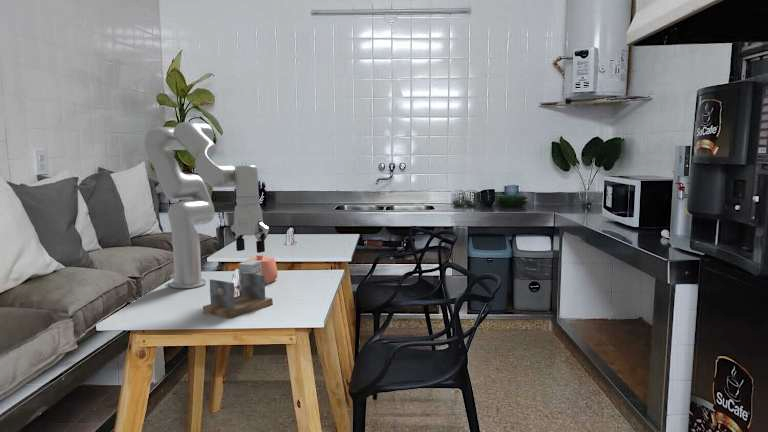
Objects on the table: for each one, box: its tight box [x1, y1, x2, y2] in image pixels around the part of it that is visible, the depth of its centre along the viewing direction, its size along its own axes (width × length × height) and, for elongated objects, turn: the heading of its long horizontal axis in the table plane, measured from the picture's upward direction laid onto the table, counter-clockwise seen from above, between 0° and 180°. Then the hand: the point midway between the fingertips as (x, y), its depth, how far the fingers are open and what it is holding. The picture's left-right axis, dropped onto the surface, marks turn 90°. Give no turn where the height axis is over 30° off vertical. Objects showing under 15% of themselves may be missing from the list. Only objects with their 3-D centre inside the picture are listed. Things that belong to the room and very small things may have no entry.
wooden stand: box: [202, 272, 274, 319], centre depth 182 cm, size 12×18×10 cm, turn 147°
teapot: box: [245, 254, 278, 285], centre depth 218 cm, size 12×18×10 cm, turn 169°
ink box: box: [238, 259, 261, 296], centre depth 198 cm, size 9×5×12 cm, turn 168°
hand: (250, 251), depth 197 cm, fingers open, 9 cm apart
